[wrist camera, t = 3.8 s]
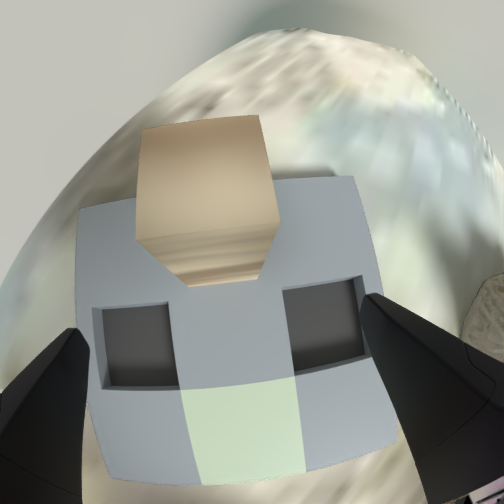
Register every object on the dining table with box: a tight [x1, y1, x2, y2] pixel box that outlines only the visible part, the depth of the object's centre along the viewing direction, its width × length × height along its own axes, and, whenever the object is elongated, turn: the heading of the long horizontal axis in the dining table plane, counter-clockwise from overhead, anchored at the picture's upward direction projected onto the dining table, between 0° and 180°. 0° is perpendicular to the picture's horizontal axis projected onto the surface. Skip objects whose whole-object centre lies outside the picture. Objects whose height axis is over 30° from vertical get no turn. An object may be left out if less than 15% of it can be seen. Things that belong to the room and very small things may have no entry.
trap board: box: [75, 176, 397, 485], centre depth 18 cm, size 22×22×2 cm
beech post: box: [136, 115, 281, 288], centre depth 13 cm, size 4×4×10 cm
